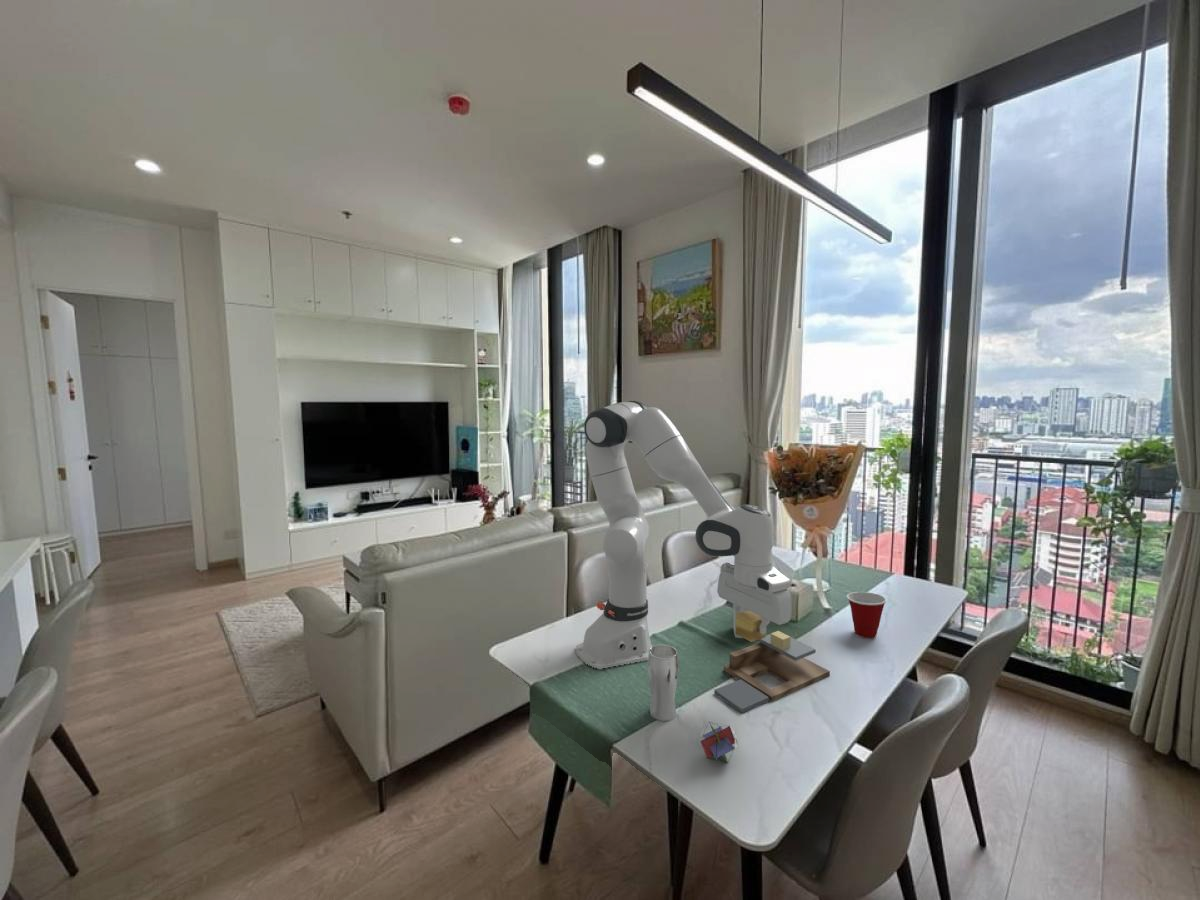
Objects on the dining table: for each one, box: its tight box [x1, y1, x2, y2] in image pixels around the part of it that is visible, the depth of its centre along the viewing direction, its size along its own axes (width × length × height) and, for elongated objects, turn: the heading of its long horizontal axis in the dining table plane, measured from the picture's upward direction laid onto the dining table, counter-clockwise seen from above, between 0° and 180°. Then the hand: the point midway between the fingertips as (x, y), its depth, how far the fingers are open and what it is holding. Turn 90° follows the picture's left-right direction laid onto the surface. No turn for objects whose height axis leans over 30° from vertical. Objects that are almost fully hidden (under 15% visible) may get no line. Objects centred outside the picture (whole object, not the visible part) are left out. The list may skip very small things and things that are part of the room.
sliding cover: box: [758, 630, 817, 661], centre depth 133 cm, size 8×12×4 cm, turn 30°
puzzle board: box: [723, 642, 831, 702], centre depth 130 cm, size 22×16×5 cm
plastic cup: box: [846, 591, 887, 639], centre depth 151 cm, size 11×11×12 cm
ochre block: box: [736, 611, 767, 643], centre depth 120 cm, size 5×5×5 cm
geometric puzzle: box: [699, 721, 739, 764], centre depth 99 cm, size 7×7×8 cm
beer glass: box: [647, 643, 679, 722], centre depth 113 cm, size 7×7×15 cm
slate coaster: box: [713, 679, 770, 714], centre depth 119 cm, size 9×9×1 cm
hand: (750, 627), depth 120 cm, fingers closed on ochre block, 5 cm apart
